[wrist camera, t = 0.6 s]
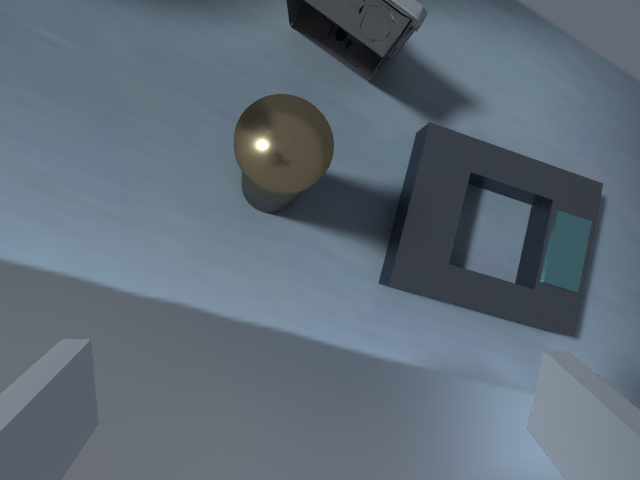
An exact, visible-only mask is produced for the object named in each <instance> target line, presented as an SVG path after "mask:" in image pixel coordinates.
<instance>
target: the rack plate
mask: <svg viewBox="0 0 640 480" xmlns="http://www.w3.org/2000/svg"><path fill="white" fill-rule="evenodd" d="M468 183H469V184H472V185H475V186H478V187H481V188H484V189H487V190H490V191H493V192H496V193H499V194H502V195H505V196H508V197H511V198H514V199H517V200H520V201H523V202H526V203H529V204H532V208H531V212H530V217H529V222H528V226H527V231H526V236H525V240H524V245H523V250H522V255H521V259H520V264H519V269H518V273H517V278H516V283H515V284H514V283H511V282H507V281H504V280H501V279H497V278H494V277H491V276H487V275H484V274H481V273H477V272H474V271H470V270H467V269H464V268H460V267H457V266H454V265H450V264H449V263H450V259H451V255H452V250H453V246H454V242H455V237H456V233H457V229H458V225H459V220H460V216H461V212H462V207H463V203H464V199H465V195H466V190H467V186H468ZM602 187H603V183H600V182H597V181H594V180H591V179H588V178H586V177H583V176H580V175H577V174H574V173H572V172H569V171H566V170H563V169H560V168H557V167H555V166H552V165H549V164H546V163H543V162H540V161H538V160H535V159H532V158H529V157H526V156H523V155H521V154H518V153H515V152H512V151H509V150H507V149H504V148H501V147H498V146H495V145H492V144H490V143H487V142H484V141H481V140H478V139H475V138H473V137H470V136H467V135H464V134H461V133H459V132H456V131H453V130H450V129H447V128H444V127H442V126H439V125H436V124H433V123H428V124H427V125H426V126H424V127H423V128H422V129H421V130H419V131H418V132H417V133H416V137H415V141H414V145H413V149H412V153H411V157H410V161H409V165H408V169H407V173H406V177H405V181H404V185H403V189H402V193H401V197H400V201H399V205H398V209H397V213H396V216H395V220H394V224H393V228H392V232H391V236H390V240H389V244H388V248H387V252H386V256H385V260H384V264H383V268H382V272H381V276H380V280H379V284H382V285H386V286H389V287H393V288H396V289H400V290H403V291H407V292H410V293H414V294H418V295H421V296H425V297H428V298H432V299H435V300H439V301H442V302H446V303H449V304H453V305H457V306H460V307H464V308H467V309H471V310H474V311H478V312H481V313H485V314H489V315H492V316H496V317H499V318H503V319H506V320H510V321H513V322H517V323H520V324H524V325H528V326H531V327H535V328H538V329H542V330H545V331H549V332H553V333H558V334H563V335H568V336H573V337H574V332H575V326H576V321H577V316H578V311H579V306H580V301H581V295H582V290H583V285H584V280H585V275H586V270H587V264H588V259H589V254H590V249H591V244H592V239H593V233H594V228H595V223H596V218H597V213H598V208H599V202H600V197H601V192H602Z"/></svg>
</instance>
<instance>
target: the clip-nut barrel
mask: <svg viewBox="0 0 640 480" xmlns="http://www.w3.org/2000/svg"><path fill="white" fill-rule="evenodd" d="M333 150H334V142H333V135H332V131H331V128H330V126H329V124H328V122H327V120H326V119H325V117H324V116H323V114H322V113H321V112H320V111H319V110H318V109H317V108H316V107H315V106H314V105H312V104H311V103H310V102H308V101H306V100H304V99H302V98H299V97H296V96H293V95H287V94H276V95H270V96H266V97H263V98H261V99H259V100H257V101H255V102H254V103H253V104H251V105H250V106H249V107H248V108H247V109H246V110H245V111H244V112H243V114H242V115H241V117H240V118H239V120H238V122H237V125H236V128H235V132H234V151H235V157H236V160H237V163H238V165H239V167H240V169H241V170H242V191H243V194H244V196H245V198H246V200H247V201H248V202H249V204H250V205H251V206H253V207H254V208H255V209H257V210H259V211H262V212H265V213H277V212H280V211H283V210H285V209H286V208H288V207H289V206H290V205H291V204H292V203H293V202H294V201H295V199H296V198H297V197H298V195H299V194H300V193H301V192H302V191H304V190H307V189H308V188H310V187H312V186H313V185H314V184H315V183H317V182H318V181H319V180H320V179H321V177H322V176H323V175H324V174H325V172H326V171H327V169H328V167H329V165H330V163H331V160H332V156H333Z"/></svg>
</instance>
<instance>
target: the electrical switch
mask: <svg viewBox="0 0 640 480" xmlns="http://www.w3.org/2000/svg"><path fill="white" fill-rule="evenodd" d="M287 7H288V15H289V22H290V25H291V24H292V22H293V21H294V22H293V24H292V25H291V26H292V27H293V28H294V29H295V30H297V31H298V32H300V33H301V34H302V35H304V36H305V37H307V38H308V39H309V40H311V41H312V42H314V43H315V44H316V45H318V46H319V47H321V48H322V49H323V50H325V51H326V52H328V53H329V54H330V55H332V56H333V57H335V58H336V59H337V60H339V61H340V62H342V63H343V64H344V65H346V66H347V67H349V68H350V69H351V70H353V71H354V72H356V73H357V74H358V75H360V76H361V77H363V78H364V79H365V80H367V81H369V80H368V79H370V78H371V77H372V76H373V74H374V73H375V71H376V70H377V69H379V68H380V65H381V63H382V61H383V60H384V59H385V57H386V56H388V57H389V58H393V59H395V58H396V57H397V55H398V53H399V51H400V49H401V48H402V46H403V45H404V44H405V43H406V41H407V40H408V39H409V37H410V36H411V35H412V34H413V32H414V31H416V32H417V30H418V29H419V28H420V26H421V25H422V23H423V21H424V19H425V18H426V16H427V12H426V10H425V8H424V6H422V5H421V4H420V3H418V2H417V1H416V0H287ZM314 10H315V11H314ZM296 16H297V17H296ZM294 19H295V20H294ZM332 23H333V24H332ZM332 26H333V29H332V32H331V33H330V35H329V32H330V30H331V28H332ZM336 26H337V27H336ZM339 27H340V28H342V29H343V30H344V31H345V32H346V33H347V34H348V36H347V37H346V38H345V39H344V40H343V42H342V41H338V40H337V39H336V37H335V35H336V33H337V31H338V28H339ZM327 35H329V36H327ZM315 37H316V38H317V39H316V38H315ZM351 41H353V42H352V43H351V44H350V45H349V46H348V47H347V49H346V46H347V45H348V43H349V42H351ZM376 53H377V55H376ZM346 56H347V58H348V59H347V58H346ZM369 59H370V61H368V60H369ZM354 65H357V66H354Z"/></svg>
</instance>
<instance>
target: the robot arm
mask: <svg viewBox="0 0 640 480" xmlns="http://www.w3.org/2000/svg"><path fill="white" fill-rule="evenodd" d="M98 424H99V423H98V412H97V400H96V390H95V378H94V367H93V356H92V345H91V340H90V339H89V340H88V339H62V340H61V341H60V342H59V343H57V344H56V345H55V346H54V347H53V348H52V349H51V350H49V351H48V352H47V353H46V354H45V355H44V356H43V357H42V358H40V359H39V360H38V361H37V362H36V363H35V364H34V365H33V366H31V367H30V368H29V369H28V370H27V371H26V372H25V373H24V374H22V375H21V376H20V377H19V378H18V379H17V380H16V381H15V382H14V383H12V384H11V385H10V386H9V387H8V388H7V389H6V390H4V391H3V392H2V393H1V394H0V480H61V479H62V477H63V476H64V474H65V473H66V471H67V470H68V468H69V467H70V466H71V464H72V463H73V461H74V459H75V458H76V457H77V455H78V454H79V452H80V451H81V449H82V447H83V446H84V445H85V443H86V442H87V440H88V439H89V438H90V436H91V435H92V433H93V432H94V430H95V429H96V427H97V425H98ZM528 431H529V432H530V433H531V435H532V436H533V437H534V439H535V440H536V441H537V443H538V444H539V445H540V447H541V448H542V449H543V450H544V452H545V453H546V454H547V456H548V457H549V458H550V460H551V461H552V462H553V463H554V465H555V466H556V467H557V469H558V470H559V471H560V473H561V474H562V475H563V477H564V478H565V479H566V480H640V409H638V408H637V407H636V406H635V405H633V404H632V403H631V402H630V401H628V400H627V399H626V398H625V397H624V396H622V395H621V394H620V393H619V392H617V391H616V390H615V389H614V388H613V387H611V386H610V385H609V384H608V383H606V382H605V381H604V380H603V379H602V378H600V377H599V376H598V375H597V374H595V373H594V372H593V371H592V370H591V369H589V368H588V367H587V366H586V365H584V364H583V363H582V362H581V361H580V360H578V359H577V358H576V357H575V356H573V355H572V354H571V353H570V352H569V351H543V356H542V361H541V366H540V371H539V375H538V380H537V385H536V390H535V395H534V399H533V404H532V409H531V414H530V419H529V423H528Z"/></svg>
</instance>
